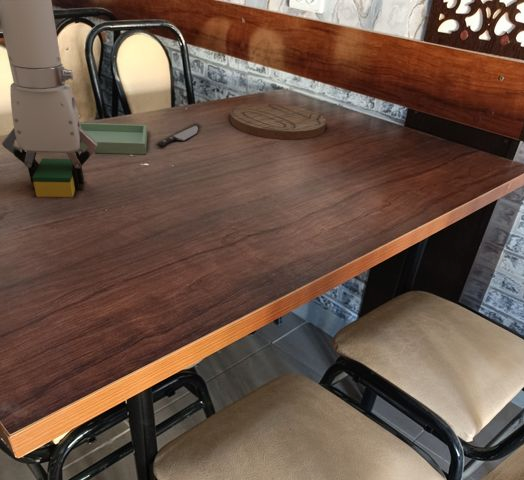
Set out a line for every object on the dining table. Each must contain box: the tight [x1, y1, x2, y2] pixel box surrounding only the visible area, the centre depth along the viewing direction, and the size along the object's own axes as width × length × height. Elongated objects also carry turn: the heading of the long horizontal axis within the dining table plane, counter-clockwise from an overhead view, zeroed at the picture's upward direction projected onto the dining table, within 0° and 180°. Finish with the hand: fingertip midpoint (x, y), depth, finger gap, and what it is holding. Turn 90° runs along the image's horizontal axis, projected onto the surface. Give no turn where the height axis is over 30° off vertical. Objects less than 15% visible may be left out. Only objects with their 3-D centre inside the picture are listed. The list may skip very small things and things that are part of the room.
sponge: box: [32, 157, 76, 198], centre depth 90 cm, size 6×9×4 cm, turn 8°
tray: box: [78, 122, 148, 155], centre depth 111 cm, size 17×13×2 cm
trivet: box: [230, 102, 327, 141], centre depth 132 cm, size 25×25×2 cm
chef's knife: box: [157, 125, 199, 148], centre depth 118 cm, size 19×1×3 cm
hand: (58, 186), depth 91 cm, fingers closed on sponge, 6 cm apart
